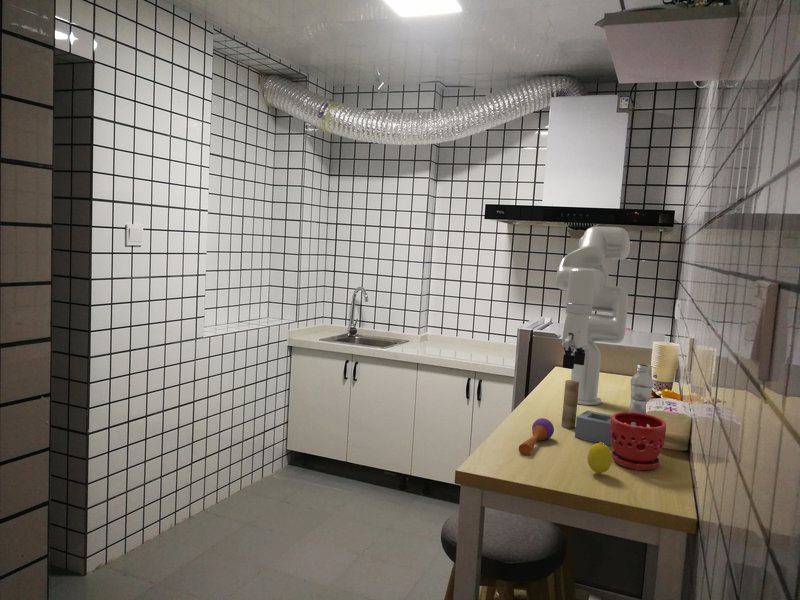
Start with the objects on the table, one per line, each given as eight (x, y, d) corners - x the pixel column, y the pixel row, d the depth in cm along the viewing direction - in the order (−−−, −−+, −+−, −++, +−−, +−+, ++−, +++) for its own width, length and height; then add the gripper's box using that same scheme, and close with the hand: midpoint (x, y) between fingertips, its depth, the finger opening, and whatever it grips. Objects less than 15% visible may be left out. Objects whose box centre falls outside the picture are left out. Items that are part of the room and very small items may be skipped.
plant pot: (603, 452, 163) (607, 409, 161) (654, 458, 160) (659, 414, 159) (611, 470, 150) (616, 422, 149) (667, 477, 148) (673, 429, 146)
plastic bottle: (651, 433, 183) (658, 368, 181) (627, 430, 184) (634, 366, 183) (647, 427, 189) (653, 364, 188) (624, 424, 191) (630, 362, 189)
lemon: (613, 475, 146) (617, 442, 146) (604, 480, 142) (607, 447, 142) (592, 468, 150) (595, 436, 149) (582, 473, 146) (585, 441, 145)
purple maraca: (512, 438, 158) (534, 415, 175) (515, 460, 158) (536, 435, 176) (534, 438, 155) (554, 415, 172) (537, 461, 155) (557, 436, 173)
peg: (564, 423, 188) (568, 379, 186) (576, 426, 185) (581, 381, 184) (559, 426, 184) (563, 381, 183) (572, 429, 182) (576, 383, 181)
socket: (585, 429, 183) (587, 410, 182) (619, 437, 177) (621, 417, 177) (574, 437, 175) (576, 416, 174) (610, 445, 169) (612, 424, 169)
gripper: (575, 307, 191) (570, 361, 192) (556, 309, 176) (551, 367, 178) (599, 310, 186) (594, 365, 188) (582, 312, 172) (576, 372, 173)
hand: (573, 366), depth 183 cm, fingers open, 9 cm apart
